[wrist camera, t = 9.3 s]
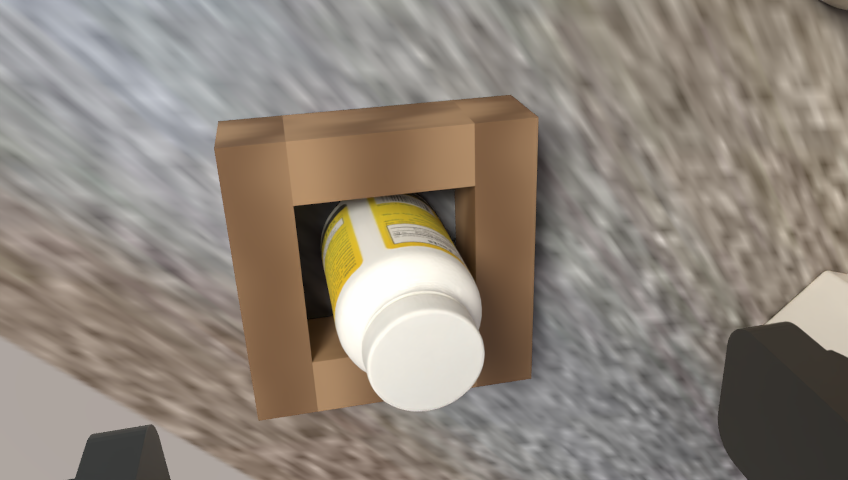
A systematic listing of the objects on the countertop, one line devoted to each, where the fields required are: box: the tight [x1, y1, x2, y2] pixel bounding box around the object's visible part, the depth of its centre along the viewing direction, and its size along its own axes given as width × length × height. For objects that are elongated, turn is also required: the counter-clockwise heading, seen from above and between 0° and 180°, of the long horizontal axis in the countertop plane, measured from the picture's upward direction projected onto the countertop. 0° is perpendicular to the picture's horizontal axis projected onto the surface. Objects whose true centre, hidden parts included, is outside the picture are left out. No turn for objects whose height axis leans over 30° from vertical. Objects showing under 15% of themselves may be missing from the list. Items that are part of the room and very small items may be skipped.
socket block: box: [214, 95, 538, 421], centre depth 32 cm, size 12×12×4 cm
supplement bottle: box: [321, 193, 485, 411], centre depth 29 cm, size 5×5×10 cm
